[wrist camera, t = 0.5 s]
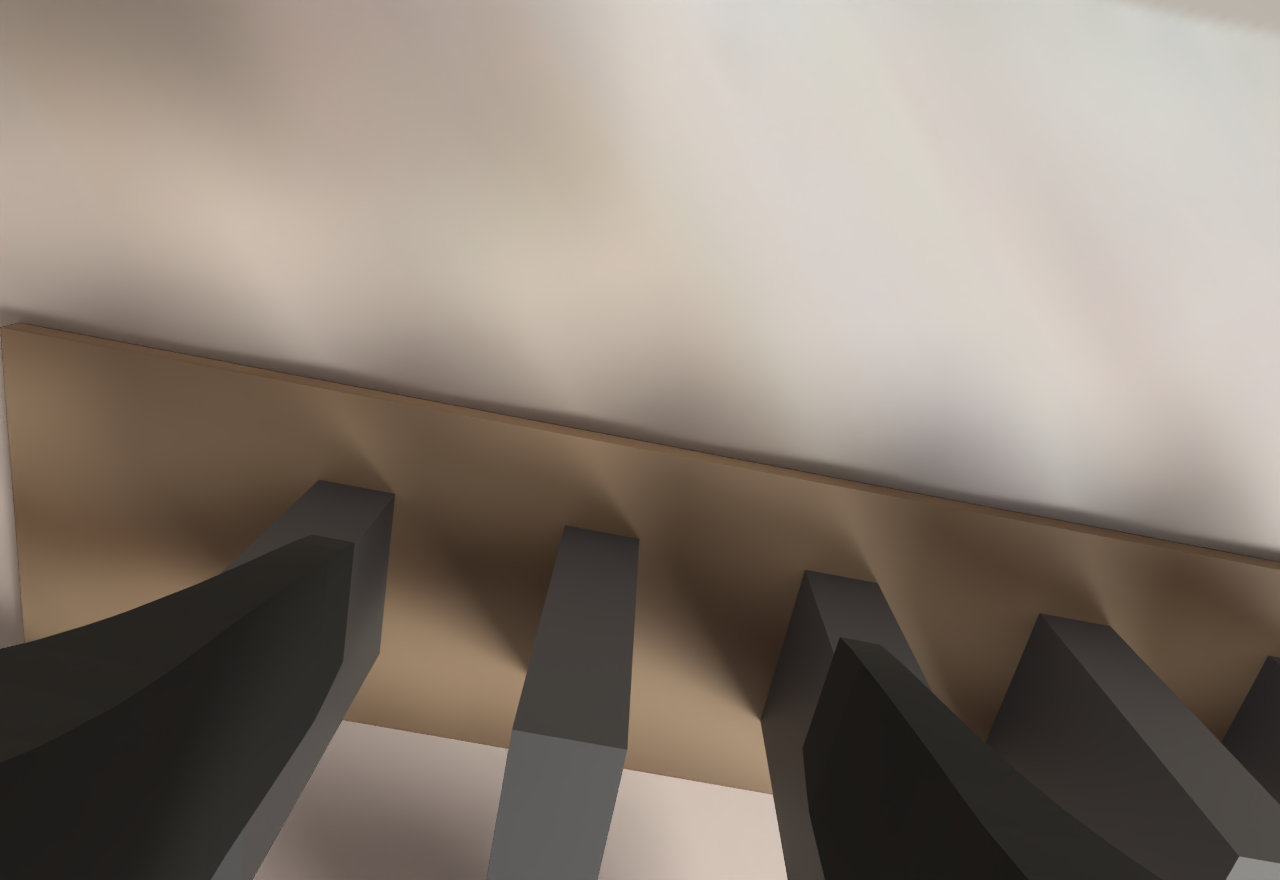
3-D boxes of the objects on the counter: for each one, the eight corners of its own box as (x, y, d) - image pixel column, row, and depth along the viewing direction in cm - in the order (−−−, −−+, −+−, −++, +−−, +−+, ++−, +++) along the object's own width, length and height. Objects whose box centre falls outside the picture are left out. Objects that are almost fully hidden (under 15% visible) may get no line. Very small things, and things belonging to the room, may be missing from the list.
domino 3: (877, 583, 22) (993, 813, 14) (827, 732, 23) (907, 1011, 16) (804, 569, 22) (882, 794, 14) (760, 721, 23) (808, 994, 16)
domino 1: (395, 493, 21) (246, 683, 14) (379, 653, 23) (240, 901, 15) (318, 479, 21) (127, 662, 13) (308, 641, 23) (133, 884, 15)
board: (1268, 866, 25) (1282, 882, 25) (41, 653, 24) (26, 665, 23) (1433, 591, 22) (1454, 603, 21) (18, 322, 20) (0, 327, 20)
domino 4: (1110, 625, 22) (1345, 875, 14) (1044, 771, 24) (1225, 1062, 16) (1039, 613, 22) (1239, 856, 14) (978, 759, 23) (1128, 1046, 16)
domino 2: (639, 538, 21) (627, 749, 14) (606, 693, 23) (579, 956, 15) (564, 525, 21) (511, 730, 14) (537, 681, 23) (476, 940, 15)
